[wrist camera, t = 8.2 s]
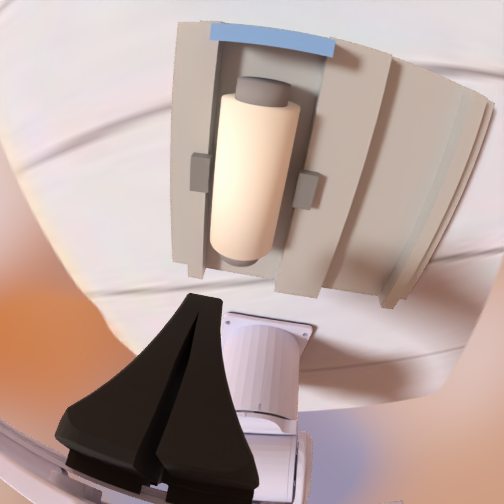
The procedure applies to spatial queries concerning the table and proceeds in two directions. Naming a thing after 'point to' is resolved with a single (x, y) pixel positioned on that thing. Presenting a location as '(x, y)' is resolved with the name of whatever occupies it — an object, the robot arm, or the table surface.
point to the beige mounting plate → (327, 157)
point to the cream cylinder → (251, 168)
